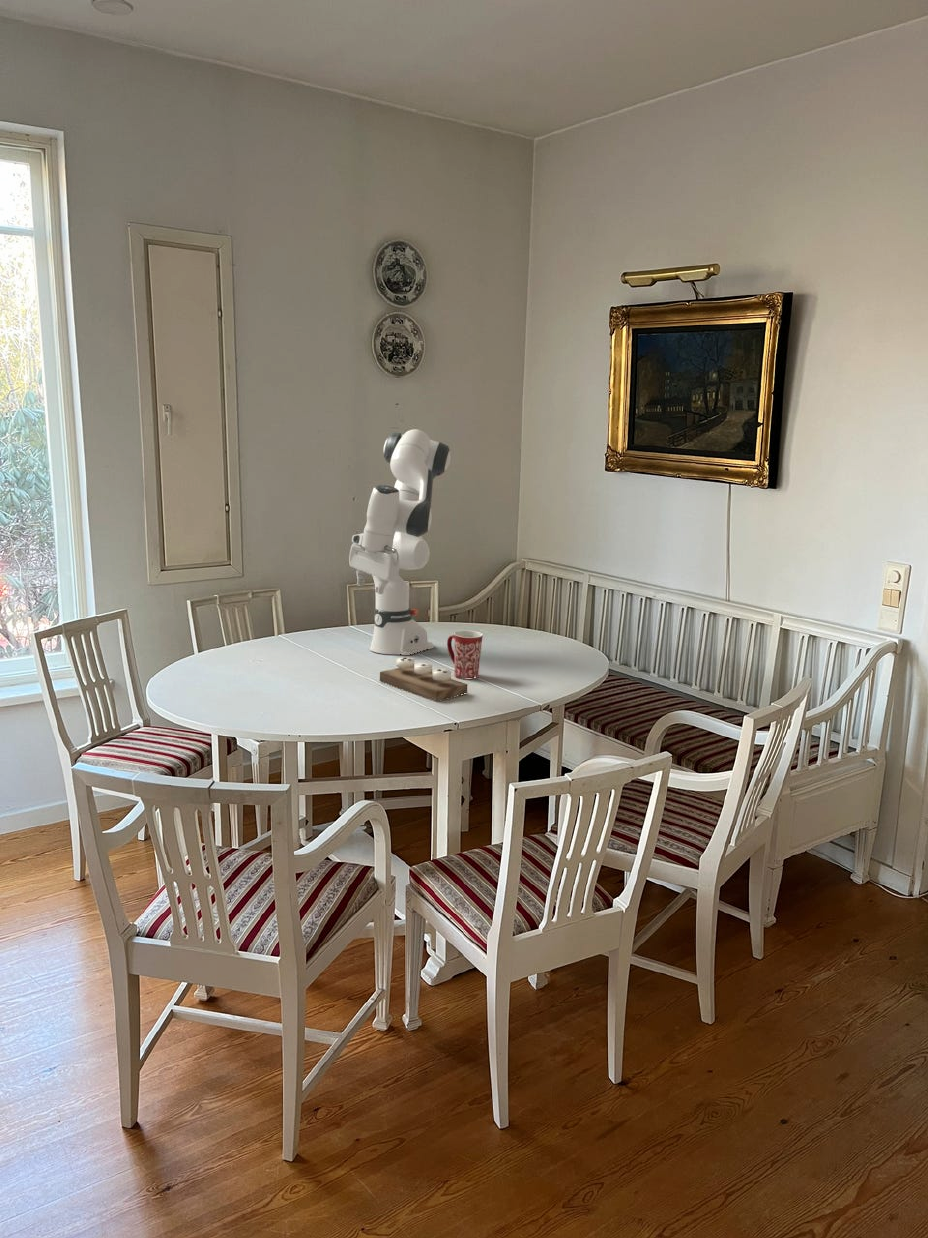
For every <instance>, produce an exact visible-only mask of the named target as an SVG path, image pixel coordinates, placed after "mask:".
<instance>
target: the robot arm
mask: <svg viewBox="0 0 928 1238" xmlns="http://www.w3.org/2000/svg"><path fill="white" fill-rule="evenodd" d="M383 458H384V460H385V461H386V463H388V464H389V465H390V466H389V467H390V471H391V474H392V475H393V476H394V477H395V478H396V481H395V484H394V486H392V485H391V486H390V485H385V484H383V485H381V484H379V485H376V486H374V487H373V489H372V492H371V495H370V497H369V500H368V501H369V502H368V503H367V506H366V507H367V508H366V513H365V518H366V524H365V526H364V528H363V533H358V534H357V533H356V534H353V535H352V537H351V543H352V544H351V546H350V549H349V555H348V556H349V557H348V563H349V567H350V568H353V569H355V570H356V571H355V574H356V578H357V581H356V585H357V586H360V587H365V583H366V580H365V579H364V574H365V573H366V574H368V575H370V576H372V579H373V582H374V589H375V607H374V608H373V620H374V626H373V627H374V628H373V635H372V638H371V639H372V640H371V644H370V646H369V650H370V651H372V652H374V653H378V654H382V655H400V654H401V656H411V655H414V653H415V654H417V652H418V653H421V652H424V651H423V650H425V651H427V650H426V649H428V650H430V649H431V650H432V649H435V644H434V643H433V642H431V641H429V640H428V633H427V630H426V629H425V627H423V626H422V625H421V624H419V623H418V622H417V621H416V620H414V618H413V616H418V615H419V610H418V609H415V608H412V609H411V608H410V607H409V606H410V604H409V603H410V586H409V584H408V583H407V582H406V581H405V580H404V579H403V578H402V577H401V576H400V575H399V574H400V569H401V570H407V571H408V570H409V571H410V570H418V569H419V570H420V569H422V568H424V567H425V566H426V564H427V563H428V561H429V559H430V555H431V553H430V552H431V551H430V547H429V545H428V542H427V541H425V539H424V538H423V535H425V534H427V533H428V532H429V530H430V529H431V525H432V520H433V519H432V517H433V516H432V515H433V514H432V502H433V491H434V489H433V488H434V487H433V486H434V483H433V482H434V480H435V478H436V477H439V476H441V475H443V474H444V473H445V472H446V470H447V469H448V468H449V466H450V464H451V463H450V462H451V458H452V457H451V449H450V447H449V446H448V445H447V444H446V443H443V442H441V441H439V442H438V441H435V440H433V439H430V437H429V435H428V434H427V433H426V432H425V431H423V430H420V429H415V428H414V429H410V430H407V431H406V432H405V433H402V432H393V433H391V434H389V435H388V437H387V438H386V439H385V442H384V445H383ZM420 651H421V652H420ZM410 654H411V655H410Z"/></svg>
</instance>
